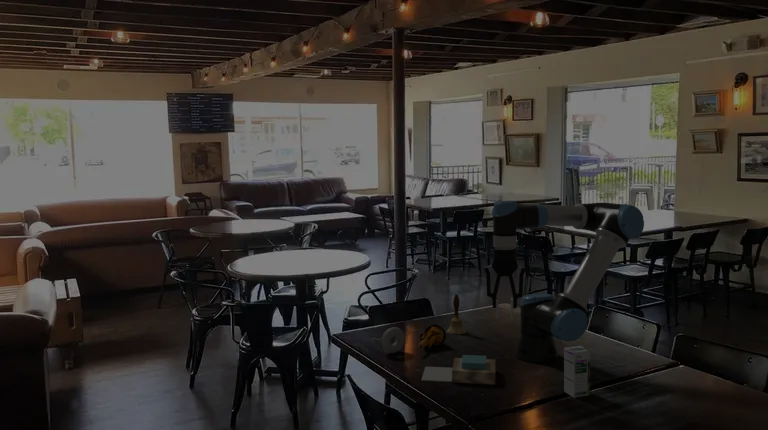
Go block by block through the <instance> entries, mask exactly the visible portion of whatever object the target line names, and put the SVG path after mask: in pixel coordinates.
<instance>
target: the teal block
mask: <svg viewBox="0 0 768 430" xmlns="http://www.w3.org/2000/svg"><path fill="white" fill-rule="evenodd" d="M461 358H462V368H463V369H486V359H487V355H477V354H476V355H475V354H474V355H472V354H462V357H461Z"/></svg>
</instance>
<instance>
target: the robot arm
mask: <svg viewBox="0 0 768 430" xmlns="http://www.w3.org/2000/svg"><path fill="white" fill-rule="evenodd" d="M491 216H492V221H493V222H492V224H493V225H492V226H493V227H492V228H493V229H492V230H493V235H492V236H493V237H492V239H493V240H492V244H493V245H492V246H493V249H492V256H493V257H492V258H493V259H492V260H493V261H492V262H491V264H490V265H485V266H484V269H483V270H484V271H485V272H484V273H485V275H486V296H487V297H489V298H491V300H492V309H495V319H499V297H497V295H498V291H499V290H498V289H499V287H500V282H501V278H502V277H508V278H509V285H510V288H511V294H512V297H510V319H511V320H514V309H517V307H518V299H520V298H521V299H520V306H519V307H520V335H519V339H518V341H517V344H516V347H515V356H516V358H518V359H519V360H522V361H525V362H529V363H542V364H543V363H550V362H554V361H556V360H557V359H558V356H559V355H558V353H559V351H558V349H557V344H556V342H555V339H557V340H559V341H565V342H573V341H577V340H578V339H580V338H581V337H582V336H583V335H584V334H585V333H586V330H587V327H588V326H589V325H588V317H587V315H588V312H589V310H588V308H587V307H588V306H587V305H588V303H589V301H590V300H591V298H592V297H593V295H594V293H595V292H596V291H595V290H596V289H597V288H598V286H599V284H600V282H601V280H602V279H603V277H604V276H605V274H606V272H607V271H608V268H609V267H610V265H611V263H612V261H613V259H614V258H615V257H616V255H617V253H618V251H619V249H622V248H626V246H627V245H628V243H629V241H630V240H634V239H637V238H639V237H640V236H641V235H642V233H643V232H644V228H645V220H644V216H643V213H642V211H641V210H640V209H639V208H638V206H635V205H631V204H628V203H624V204H623V203H622V204H621V203H613V202H611V203H610V202H603V201H602V202H592V203H591V202H590V203H576V204H574V205H563V204H562V205H559V204H540V203H539V204H536V203H535V204H534V203H518V202H517V201H515V200H497V201H495V202H494V203H493V207H492V211H491ZM545 226H547V227H549V226H551V227H554V226H555V227H573V229H576V230H584V231H588V232H593V233H595V235H596V237H595V239H594V240H593V243H592V244H591V246H590V247H589V249H588V250H587V252H586V253H585V256H584V257H583V259H582V261H581V263H580V264H579V266H578V268H577V269H576V271H575V273H574V275H573V276H572V278H571V280H570V281H569V283H568V285H567V287H566V288H565V290H564V291H563V292H561V293H558V294H556V296H555V298H554V295H553V294H550V293H533V294H526V295H523V294H524V274H525V272H526V266H521V265H519V264H518V262H517V240H518V239H517V238H518V237H517V236H518V235H517V233H518V230H522V229H534V228H535V229H538V228H543V227H545ZM492 269H493V270H494V272H495V273H496V279H495V282H494V286H493V287H494V288H493V291H491V289H492V287H491V286H492V285H491V272H492V271H493V270H492ZM516 271H517V272H518V273H519V275H518V293H517V290H516V286H515V283H514V278H513V277H514V276H513V274H514V273H515V272H516Z"/></svg>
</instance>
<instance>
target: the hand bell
mask: <svg viewBox="0 0 768 430" xmlns="http://www.w3.org/2000/svg"><path fill="white" fill-rule="evenodd" d="M460 301H461V300H460V296H459V294H458V293H457V294H454V297H453V301H452V302H453V303H452V304H453V307H454V308H453V309H454V314H453V315H454V317H453V318H451V320H450V325H449V328H448V329H446V333H448V334H449V335H464V334H466V333H467V330H466V329H465V327H464V326H463V319H462V318H460V317H459V308H460Z"/></svg>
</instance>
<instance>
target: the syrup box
mask: <svg viewBox="0 0 768 430" xmlns="http://www.w3.org/2000/svg"><path fill="white" fill-rule="evenodd" d="M563 365H564V366H563V369H564V370H563V373H564V374H563V375H564V376H563V382H564V383H563V384H564V385H563V388H564V389H563V390H564V393H566V394H567V395H569V396H570V397H572V398H574V399H575V398H582V397H589V396H591V395H590V394H591V350H590V349H588V348H586V346H585V347H584V346H582V345H578V346H567V347H564V348H563Z"/></svg>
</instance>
